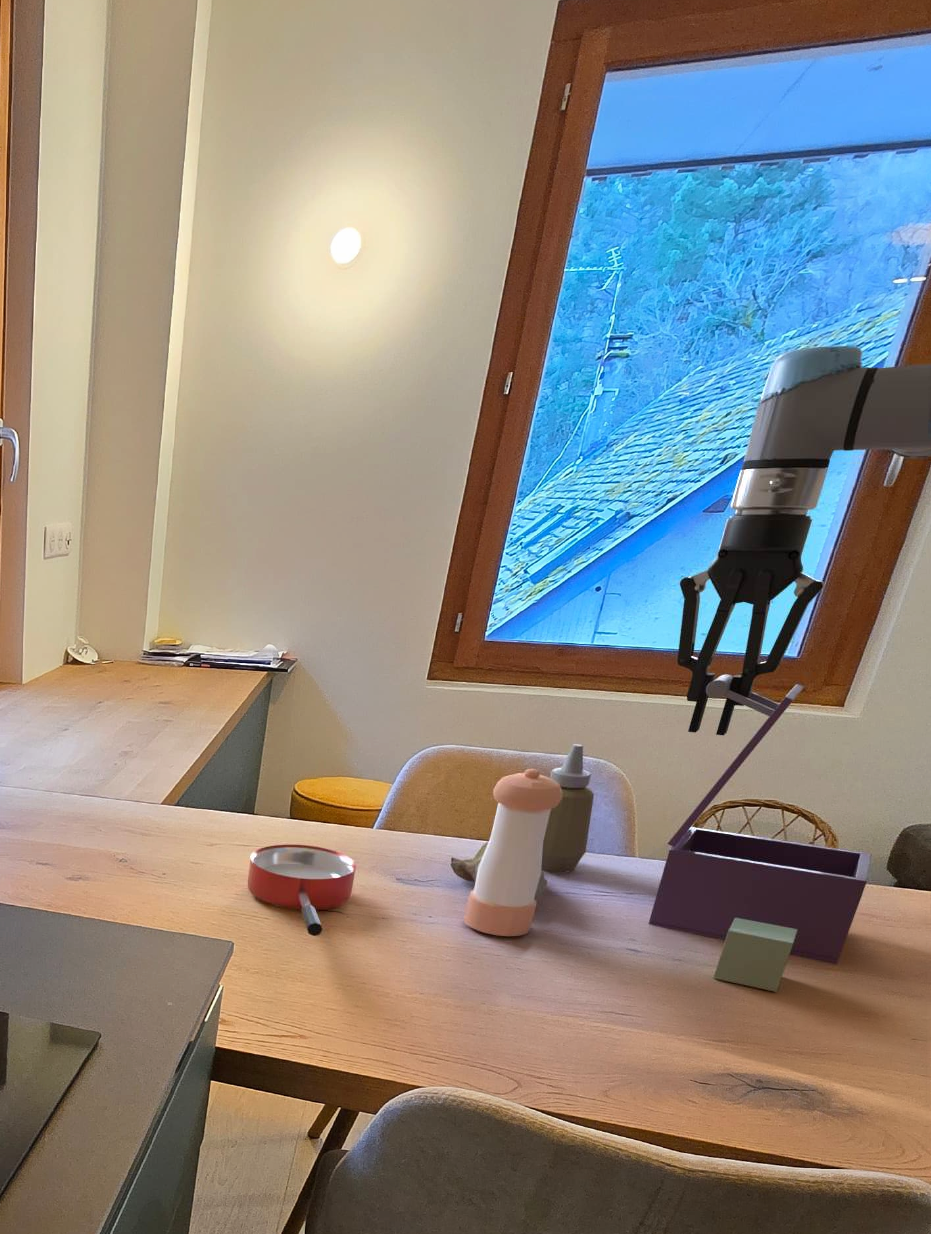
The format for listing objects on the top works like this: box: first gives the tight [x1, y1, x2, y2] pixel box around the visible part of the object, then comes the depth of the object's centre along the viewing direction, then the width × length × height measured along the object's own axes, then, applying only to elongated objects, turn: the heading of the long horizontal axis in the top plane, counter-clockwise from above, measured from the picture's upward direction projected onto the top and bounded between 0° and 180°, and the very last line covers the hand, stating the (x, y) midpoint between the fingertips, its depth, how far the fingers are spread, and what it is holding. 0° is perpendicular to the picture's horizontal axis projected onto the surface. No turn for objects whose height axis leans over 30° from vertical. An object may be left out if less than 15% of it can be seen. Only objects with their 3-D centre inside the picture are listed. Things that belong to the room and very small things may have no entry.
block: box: [713, 918, 797, 993], centre depth 112 cm, size 6×6×6 cm
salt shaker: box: [463, 768, 562, 937], centre depth 123 cm, size 7×7×19 cm
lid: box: [667, 674, 804, 847], centre depth 123 cm, size 19×14×8 cm
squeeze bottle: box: [541, 743, 595, 874], centre depth 143 cm, size 8×8×18 cm
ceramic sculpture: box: [450, 841, 548, 902], centre depth 135 cm, size 11×9×15 cm
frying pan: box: [247, 844, 357, 937], centre depth 128 cm, size 32×13×6 cm, turn 171°
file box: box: [647, 826, 873, 966], centre depth 124 cm, size 18×14×10 cm
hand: (707, 731), depth 122 cm, fingers closed on lid, 2 cm apart
